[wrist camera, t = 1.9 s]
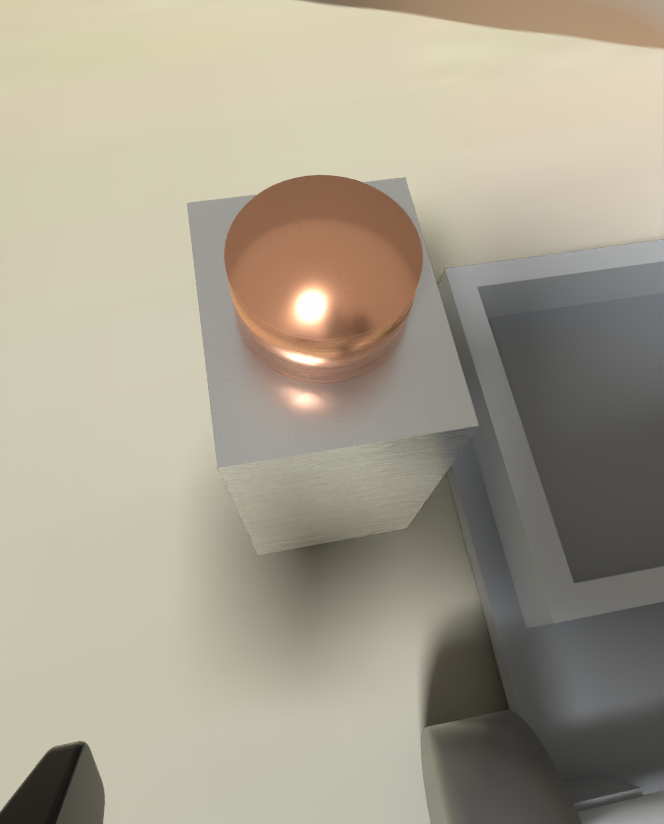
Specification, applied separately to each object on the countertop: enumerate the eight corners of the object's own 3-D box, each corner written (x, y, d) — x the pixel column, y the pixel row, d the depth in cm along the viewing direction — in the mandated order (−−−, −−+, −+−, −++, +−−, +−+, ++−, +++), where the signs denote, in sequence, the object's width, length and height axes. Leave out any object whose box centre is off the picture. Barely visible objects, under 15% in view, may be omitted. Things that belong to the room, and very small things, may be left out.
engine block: (406, 528, 23) (507, 385, 11) (257, 555, 22) (202, 433, 11) (368, 364, 25) (418, 111, 14) (234, 384, 25) (170, 137, 13)
